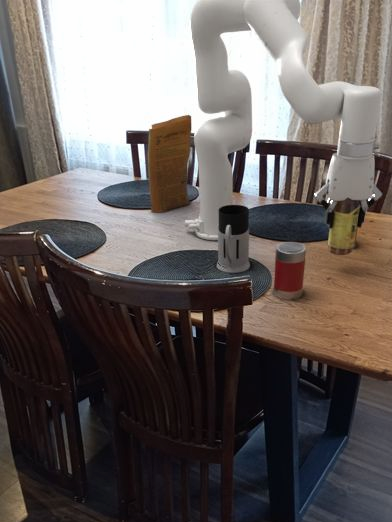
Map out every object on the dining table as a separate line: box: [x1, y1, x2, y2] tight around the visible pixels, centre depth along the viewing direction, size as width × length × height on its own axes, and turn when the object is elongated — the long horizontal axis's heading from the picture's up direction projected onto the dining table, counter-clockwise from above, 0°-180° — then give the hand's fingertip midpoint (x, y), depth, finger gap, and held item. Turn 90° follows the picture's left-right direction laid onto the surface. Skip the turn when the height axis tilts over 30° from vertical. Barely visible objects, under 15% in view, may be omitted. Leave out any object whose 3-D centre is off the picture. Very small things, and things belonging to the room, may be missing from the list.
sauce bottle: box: [327, 198, 360, 256], centre depth 126 cm, size 6×6×20 cm
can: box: [273, 241, 307, 301], centre depth 122 cm, size 7×7×12 cm
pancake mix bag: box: [147, 114, 193, 213], centre depth 171 cm, size 7×19×28 cm, turn 131°
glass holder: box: [216, 204, 251, 274], centre depth 132 cm, size 9×14×15 cm, turn 167°
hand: (343, 225), depth 127 cm, fingers closed on sauce bottle, 6 cm apart
